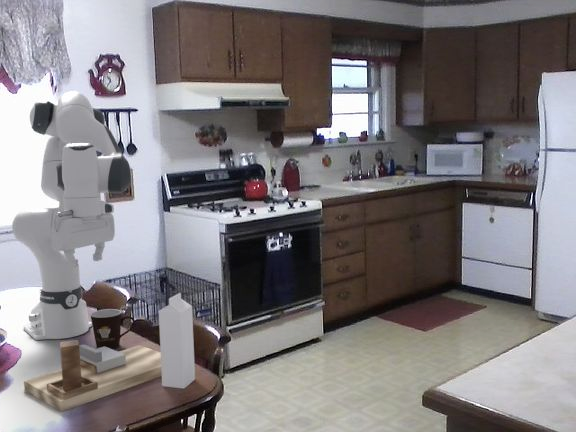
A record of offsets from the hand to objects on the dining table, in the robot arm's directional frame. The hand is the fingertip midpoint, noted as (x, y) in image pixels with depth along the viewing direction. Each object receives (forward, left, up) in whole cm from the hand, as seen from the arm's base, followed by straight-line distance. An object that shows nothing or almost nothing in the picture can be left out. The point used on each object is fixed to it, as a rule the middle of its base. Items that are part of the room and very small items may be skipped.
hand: (85, 263), depth 158 cm
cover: (+2, +2, -26) cm, 26 cm away
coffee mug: (-14, +15, -29) cm, 36 cm away
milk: (+22, +11, -29) cm, 38 cm away
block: (+11, -11, -26) cm, 31 cm away
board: (+6, 0, -29) cm, 29 cm away
